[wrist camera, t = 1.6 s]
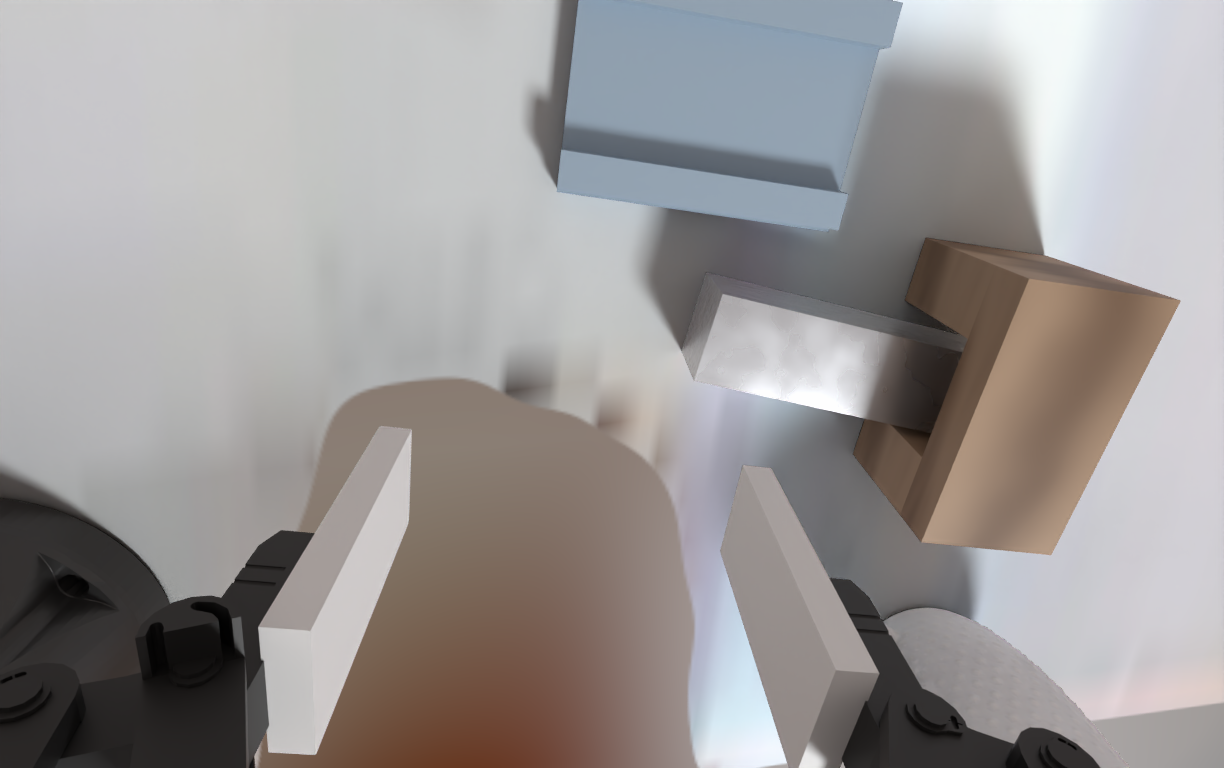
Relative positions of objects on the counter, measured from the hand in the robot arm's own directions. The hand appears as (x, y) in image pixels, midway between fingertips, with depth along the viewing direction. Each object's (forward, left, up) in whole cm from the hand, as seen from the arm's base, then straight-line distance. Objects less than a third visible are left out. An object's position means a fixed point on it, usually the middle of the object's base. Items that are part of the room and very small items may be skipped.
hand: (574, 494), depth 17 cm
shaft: (+13, 0, -16) cm, 20 cm away
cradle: (+5, +10, -15) cm, 19 cm away
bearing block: (+19, 0, -15) cm, 24 cm away
